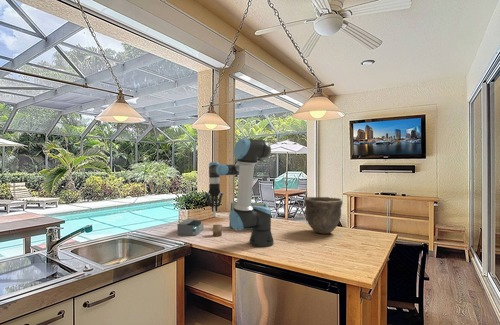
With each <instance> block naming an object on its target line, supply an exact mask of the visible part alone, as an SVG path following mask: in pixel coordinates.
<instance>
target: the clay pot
mask: <svg viewBox="0 0 500 325" xmlns="http://www.w3.org/2000/svg"><path fill="white" fill-rule="evenodd" d="M304 204H305V211H304V214H305V215H304V216H305V219H306V222H307V224H308V225H309V227H310V228H311V229H312V230H313V231H314V232H315V233H319V234H322V235H326V234H330V233H331V232H333V231H335V229H336V228H337V226H338V224H339V223H340V221H341V218H342V206H343V199H341V198H339V197H338V198H337V197H329V196H325V197H324V196H311V197H310V196H307V197H305V199H304Z"/></svg>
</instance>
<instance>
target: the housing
mask: <svg viewBox="0 0 500 325" xmlns="http://www.w3.org/2000/svg"><path fill="white" fill-rule="evenodd" d="M200 224H202V220H201V219H195V218H186V219H184V220H182V221H180V222H178V223H177V230H176V231H177V232H176V233H177V236H184V237H185V236H186V237H196V236H197V235H199V234H200V233H201V232H202V231H204V229H205V228H204V229H203V230H202V231H200V232H199V233H198V234H197V235H193V226H199V225H200Z"/></svg>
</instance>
